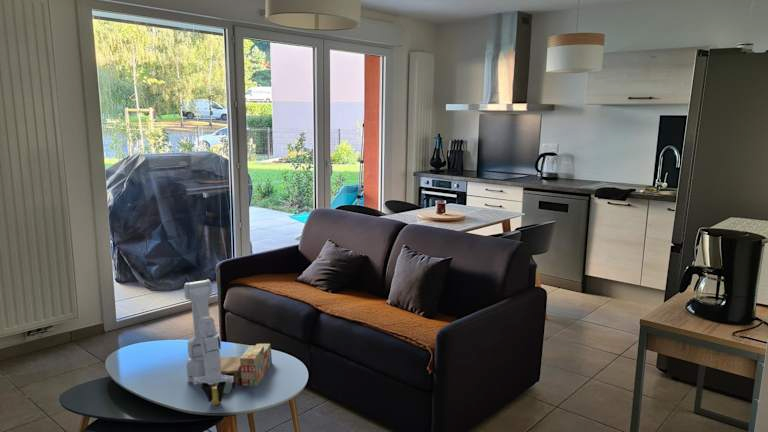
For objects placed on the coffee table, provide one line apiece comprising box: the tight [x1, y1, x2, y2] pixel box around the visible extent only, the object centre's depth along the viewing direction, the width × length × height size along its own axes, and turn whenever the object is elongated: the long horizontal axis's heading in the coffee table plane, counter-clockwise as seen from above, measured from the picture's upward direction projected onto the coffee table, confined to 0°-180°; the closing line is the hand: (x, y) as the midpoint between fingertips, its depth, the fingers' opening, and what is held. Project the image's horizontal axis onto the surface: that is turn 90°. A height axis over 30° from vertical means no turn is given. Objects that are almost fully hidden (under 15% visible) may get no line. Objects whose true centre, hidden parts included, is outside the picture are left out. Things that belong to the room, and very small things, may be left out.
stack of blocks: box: [240, 343, 273, 387], centre depth 225 cm, size 21×6×12 cm, turn 175°
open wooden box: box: [212, 356, 242, 387], centre depth 221 cm, size 11×13×7 cm
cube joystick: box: [211, 382, 233, 406], centre depth 208 cm, size 5×14×6 cm, turn 0°
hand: (215, 400), depth 202 cm, fingers closed on cube joystick, 3 cm apart
